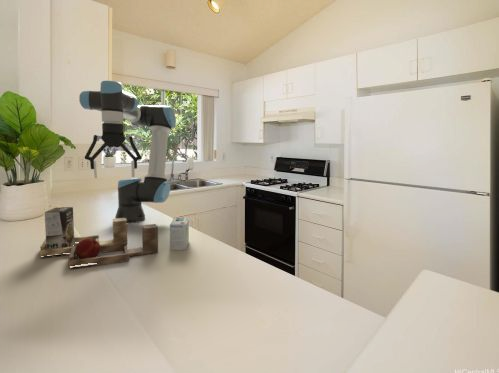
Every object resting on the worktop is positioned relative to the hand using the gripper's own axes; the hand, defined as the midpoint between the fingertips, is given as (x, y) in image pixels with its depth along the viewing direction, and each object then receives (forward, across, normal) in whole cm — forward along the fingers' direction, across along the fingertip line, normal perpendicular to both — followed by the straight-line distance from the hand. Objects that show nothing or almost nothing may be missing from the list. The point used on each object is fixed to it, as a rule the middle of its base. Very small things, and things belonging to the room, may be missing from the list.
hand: (114, 177), depth 112 cm
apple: (+28, +11, +14) cm, 33 cm away
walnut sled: (+27, +1, +14) cm, 31 cm away
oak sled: (+27, +11, 0) cm, 29 cm away
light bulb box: (+28, -23, +12) cm, 38 cm away
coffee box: (+28, +20, 0) cm, 34 cm away
